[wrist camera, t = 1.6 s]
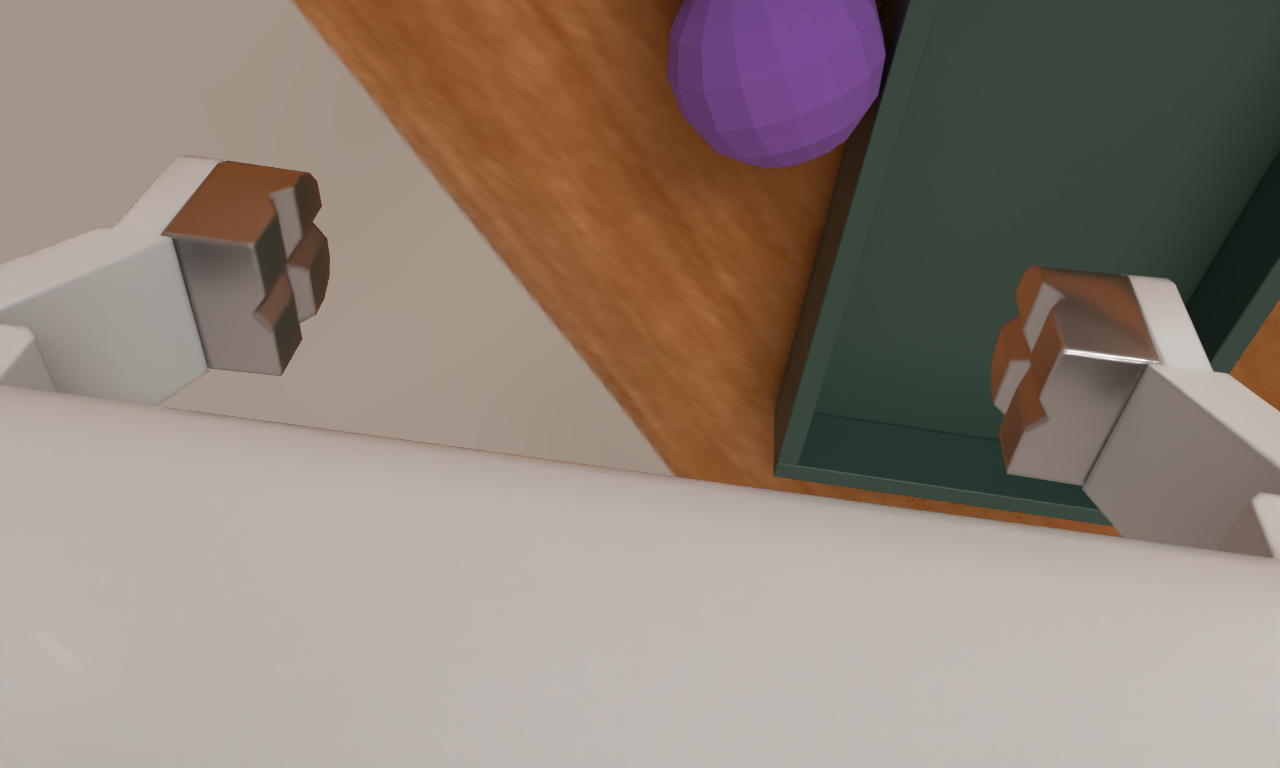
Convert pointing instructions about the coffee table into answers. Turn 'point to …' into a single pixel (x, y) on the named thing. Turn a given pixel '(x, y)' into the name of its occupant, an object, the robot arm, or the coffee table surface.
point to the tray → (1026, 221)
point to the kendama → (775, 74)
